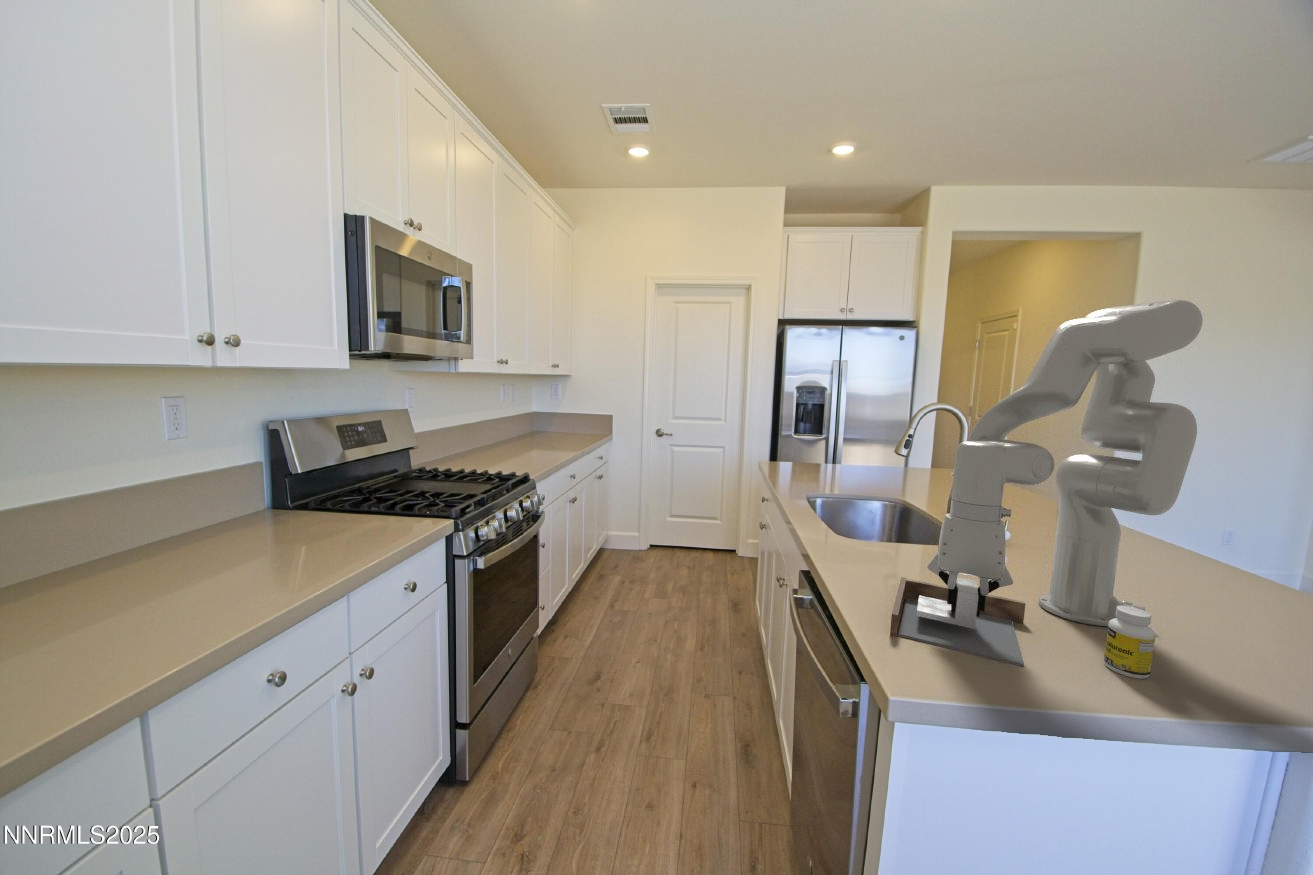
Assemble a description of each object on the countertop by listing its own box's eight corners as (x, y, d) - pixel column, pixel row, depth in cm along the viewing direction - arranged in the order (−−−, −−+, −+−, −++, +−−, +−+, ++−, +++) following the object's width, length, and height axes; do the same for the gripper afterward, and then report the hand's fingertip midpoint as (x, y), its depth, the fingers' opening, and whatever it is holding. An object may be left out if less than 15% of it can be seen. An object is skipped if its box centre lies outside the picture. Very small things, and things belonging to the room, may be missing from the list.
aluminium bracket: (974, 628, 87) (978, 595, 86) (916, 615, 91) (919, 583, 91) (973, 611, 94) (976, 580, 93) (918, 600, 98) (921, 570, 98)
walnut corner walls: (1022, 620, 96) (1024, 600, 96) (1038, 672, 78) (1041, 648, 78) (899, 595, 106) (901, 576, 106) (889, 635, 89) (891, 613, 88)
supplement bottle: (1094, 660, 82) (1101, 603, 81) (1124, 660, 83) (1132, 602, 82) (1127, 680, 77) (1135, 618, 76) (1160, 679, 77) (1168, 618, 76)
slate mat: (1011, 622, 95) (1012, 620, 95) (1023, 666, 80) (1024, 664, 80) (906, 599, 104) (906, 597, 104) (898, 635, 89) (898, 633, 89)
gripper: (1028, 514, 88) (1017, 614, 90) (923, 501, 96) (915, 593, 98) (1035, 523, 82) (1022, 631, 84) (922, 508, 90) (913, 607, 92)
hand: (964, 610), depth 91 cm, fingers closed on aluminium bracket, 3 cm apart
